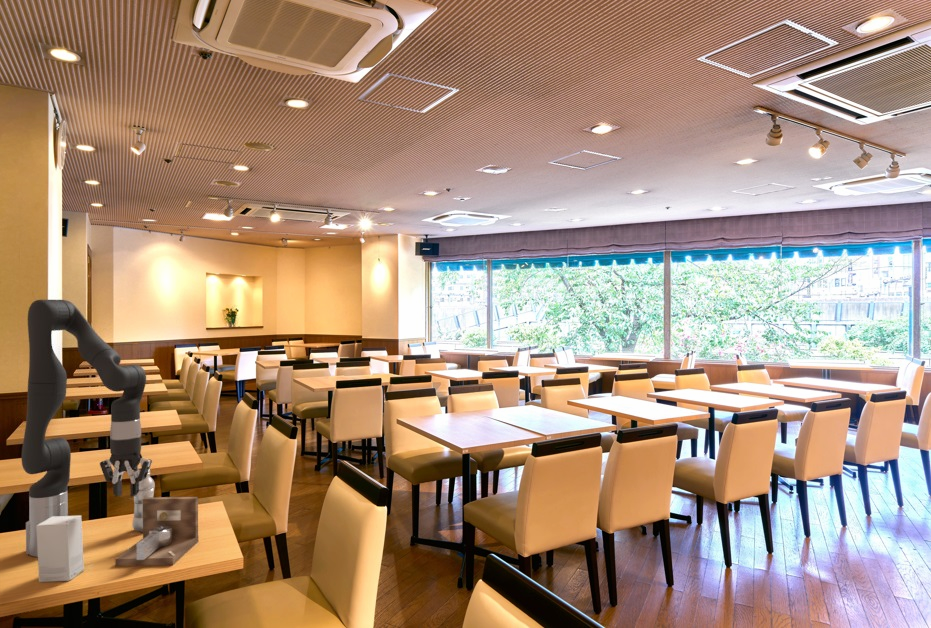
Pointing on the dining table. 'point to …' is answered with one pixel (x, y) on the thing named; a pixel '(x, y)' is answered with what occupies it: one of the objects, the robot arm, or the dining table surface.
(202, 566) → the dining table surface
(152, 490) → the plastic bottle
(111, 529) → the dining table surface
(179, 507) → the stand
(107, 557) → the dining table surface
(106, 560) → the dining table surface
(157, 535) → the lever
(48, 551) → the skincare box
